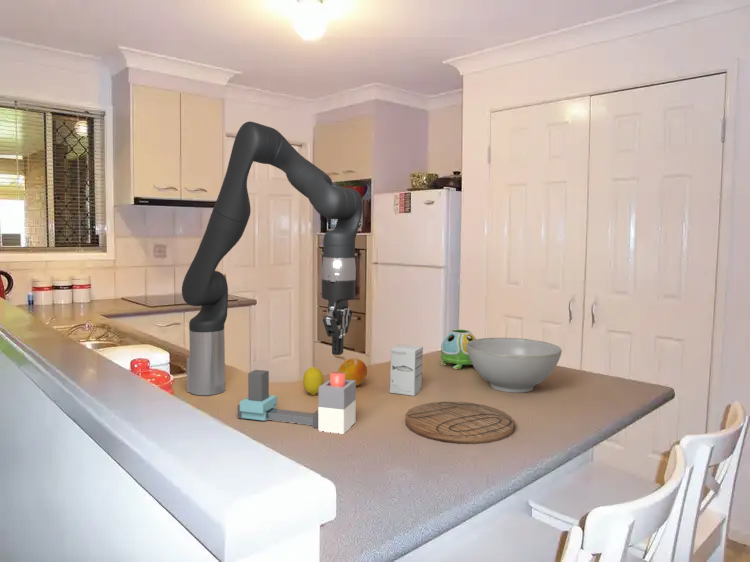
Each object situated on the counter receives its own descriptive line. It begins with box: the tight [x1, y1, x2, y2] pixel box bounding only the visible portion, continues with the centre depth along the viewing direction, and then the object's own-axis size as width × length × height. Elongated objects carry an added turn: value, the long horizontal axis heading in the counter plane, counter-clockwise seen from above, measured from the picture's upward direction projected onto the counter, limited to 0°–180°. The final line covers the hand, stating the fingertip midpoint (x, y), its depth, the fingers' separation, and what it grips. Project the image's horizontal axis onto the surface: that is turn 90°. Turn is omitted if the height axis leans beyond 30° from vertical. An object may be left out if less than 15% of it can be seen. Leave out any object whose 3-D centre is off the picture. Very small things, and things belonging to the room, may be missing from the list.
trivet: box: [404, 401, 515, 445], centre depth 129 cm, size 25×25×2 cm
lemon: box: [302, 366, 325, 396], centre depth 151 cm, size 6×6×8 cm
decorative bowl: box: [466, 337, 563, 394], centre depth 161 cm, size 27×27×12 cm
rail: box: [237, 403, 318, 429], centre depth 130 cm, size 20×5×3 cm, turn 73°
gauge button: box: [329, 371, 345, 387], centre depth 126 cm, size 3×3×6 cm
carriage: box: [239, 369, 278, 422], centre depth 132 cm, size 6×7×11 cm
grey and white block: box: [317, 379, 357, 435], centre depth 126 cm, size 6×8×10 cm
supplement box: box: [389, 344, 424, 397], centre depth 155 cm, size 7×7×13 cm
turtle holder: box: [440, 328, 477, 370], centre depth 186 cm, size 12×18×12 cm
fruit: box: [337, 357, 368, 387], centre depth 160 cm, size 8×9×8 cm
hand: (337, 354), depth 125 cm, fingers closed
